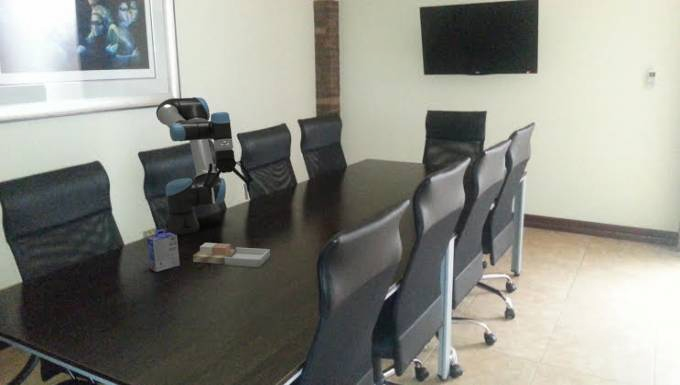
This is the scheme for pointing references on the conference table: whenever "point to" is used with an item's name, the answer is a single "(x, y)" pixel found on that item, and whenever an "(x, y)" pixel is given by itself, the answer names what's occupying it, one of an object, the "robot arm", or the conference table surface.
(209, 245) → the tile
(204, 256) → the board
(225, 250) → the tile
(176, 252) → the ink cartridge box
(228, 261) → the tray
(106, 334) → the conference table surface
